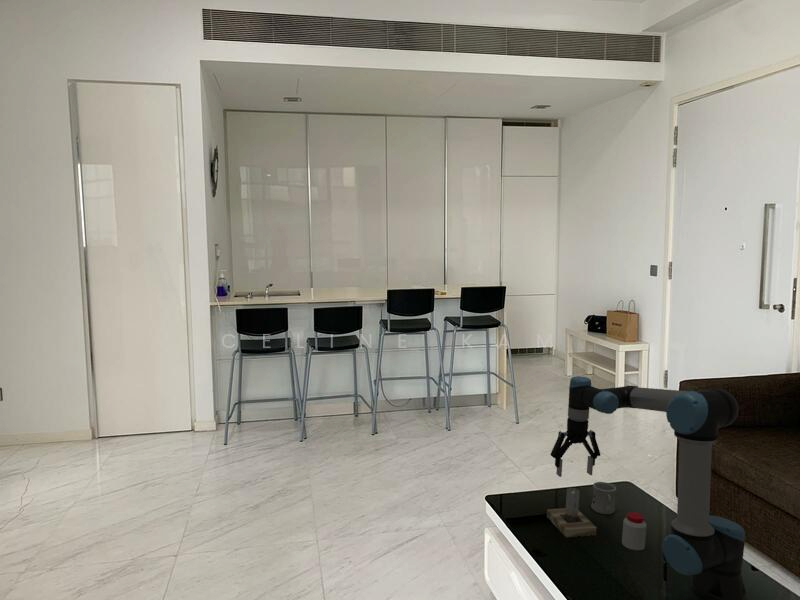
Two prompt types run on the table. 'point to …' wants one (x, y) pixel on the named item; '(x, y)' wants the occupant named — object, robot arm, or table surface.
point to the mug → (603, 498)
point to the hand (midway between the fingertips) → (574, 474)
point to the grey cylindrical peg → (572, 505)
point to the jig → (571, 524)
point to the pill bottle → (634, 531)
